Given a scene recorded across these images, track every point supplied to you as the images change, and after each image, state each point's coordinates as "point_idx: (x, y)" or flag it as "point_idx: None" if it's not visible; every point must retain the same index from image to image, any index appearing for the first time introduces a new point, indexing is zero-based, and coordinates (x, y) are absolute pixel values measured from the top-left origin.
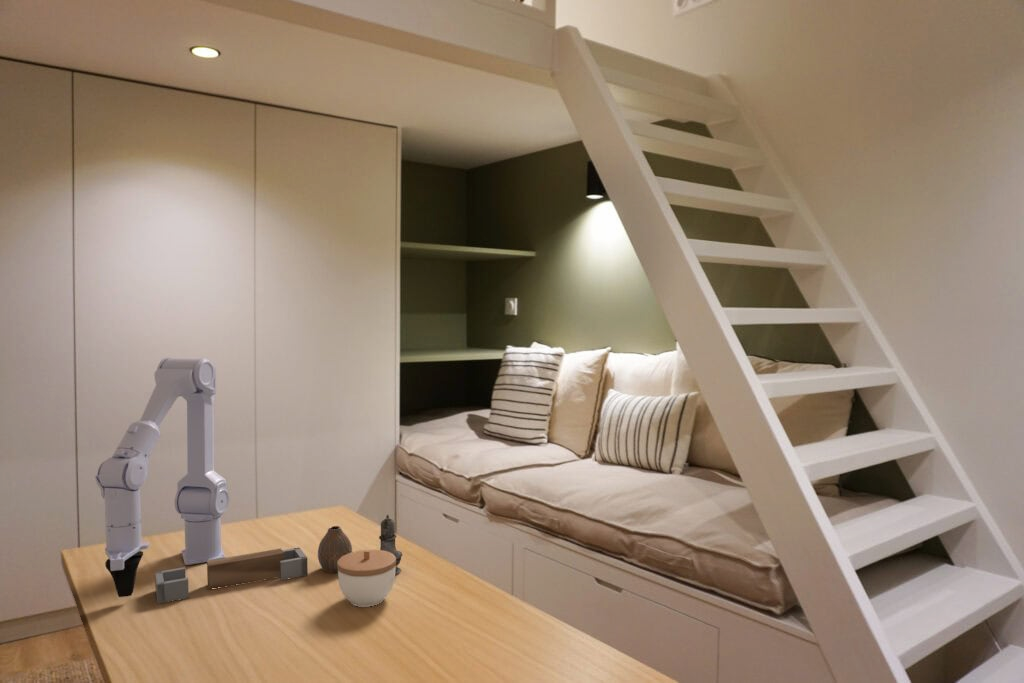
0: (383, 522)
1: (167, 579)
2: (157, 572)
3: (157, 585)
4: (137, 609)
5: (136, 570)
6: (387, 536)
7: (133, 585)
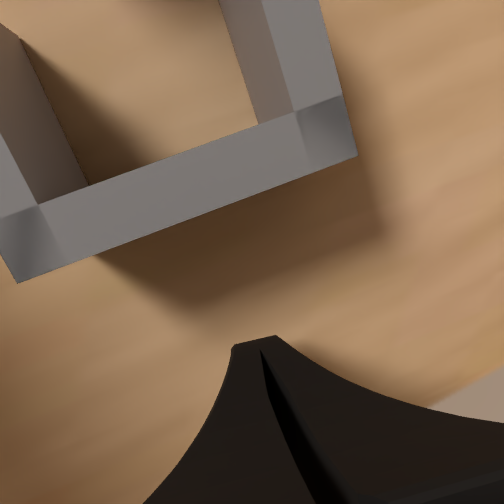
0: None
1: (47, 159)
2: (29, 256)
3: (353, 152)
4: (349, 252)
5: (264, 421)
6: None
7: (293, 354)
